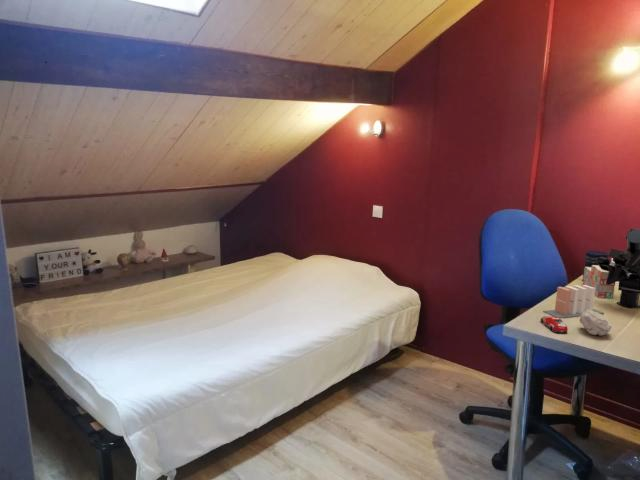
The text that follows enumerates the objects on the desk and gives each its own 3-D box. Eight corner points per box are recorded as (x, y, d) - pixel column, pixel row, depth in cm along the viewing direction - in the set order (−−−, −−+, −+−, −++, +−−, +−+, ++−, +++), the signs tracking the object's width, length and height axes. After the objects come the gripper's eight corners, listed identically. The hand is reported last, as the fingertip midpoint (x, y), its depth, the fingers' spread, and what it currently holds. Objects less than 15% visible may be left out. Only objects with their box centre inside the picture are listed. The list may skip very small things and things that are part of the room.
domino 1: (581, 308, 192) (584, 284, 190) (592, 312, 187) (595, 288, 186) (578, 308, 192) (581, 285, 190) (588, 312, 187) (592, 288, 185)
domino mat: (586, 307, 195) (587, 306, 195) (603, 313, 187) (603, 312, 187) (543, 311, 188) (543, 310, 188) (558, 318, 181) (558, 317, 181)
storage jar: (579, 282, 234) (583, 252, 231) (584, 278, 241) (588, 249, 239) (602, 286, 228) (607, 255, 225) (606, 282, 235) (610, 252, 232)
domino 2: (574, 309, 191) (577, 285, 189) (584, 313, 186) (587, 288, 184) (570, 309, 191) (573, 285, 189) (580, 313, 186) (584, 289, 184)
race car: (538, 321, 179) (539, 311, 178) (553, 322, 178) (554, 311, 178) (553, 334, 166) (554, 323, 165) (569, 335, 165) (570, 324, 165)
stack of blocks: (582, 285, 229) (585, 260, 227) (596, 286, 228) (599, 261, 226) (597, 298, 209) (601, 271, 206) (613, 299, 207) (617, 272, 205)
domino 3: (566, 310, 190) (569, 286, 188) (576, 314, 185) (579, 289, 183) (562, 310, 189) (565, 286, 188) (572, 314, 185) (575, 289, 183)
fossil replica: (594, 326, 174) (570, 330, 172) (594, 304, 173) (569, 308, 171) (620, 336, 162) (595, 340, 160) (620, 313, 161) (595, 316, 159)
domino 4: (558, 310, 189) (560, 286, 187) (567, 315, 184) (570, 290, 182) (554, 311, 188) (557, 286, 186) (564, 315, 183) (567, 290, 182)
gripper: (602, 237, 197) (578, 265, 195) (645, 246, 180) (620, 277, 178) (613, 255, 201) (590, 282, 199) (657, 265, 184) (632, 295, 182)
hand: (607, 283), depth 190 cm, fingers closed
